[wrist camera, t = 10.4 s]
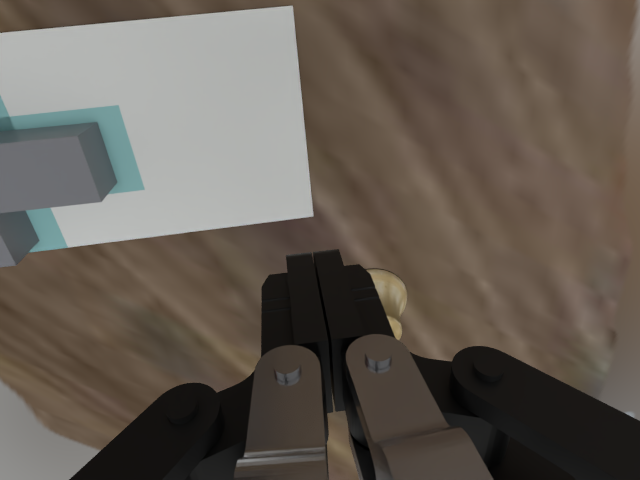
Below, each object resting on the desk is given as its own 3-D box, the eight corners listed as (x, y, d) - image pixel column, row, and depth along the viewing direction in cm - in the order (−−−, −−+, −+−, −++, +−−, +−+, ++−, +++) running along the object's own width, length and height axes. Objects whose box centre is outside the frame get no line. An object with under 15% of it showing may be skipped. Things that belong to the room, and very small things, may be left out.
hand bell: (328, 332, 46) (355, 472, 32) (332, 269, 42) (366, 399, 28) (400, 328, 47) (457, 463, 33) (411, 267, 43) (481, 390, 29)
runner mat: (-131, 45, 28) (-135, 45, 28) (292, 5, 30) (292, 5, 30) (-13, 255, 37) (-14, 257, 37) (313, 214, 39) (313, 216, 39)
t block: (-101, 74, 29) (-150, 83, 26) (76, 58, 30) (52, 66, 27) (-9, 246, 36) (-38, 271, 33) (133, 229, 37) (119, 253, 34)
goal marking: (-107, 59, 29) (-111, 60, 29) (99, 39, 30) (97, 40, 30) (-1, 254, 37) (-3, 256, 37) (160, 234, 38) (159, 235, 38)
